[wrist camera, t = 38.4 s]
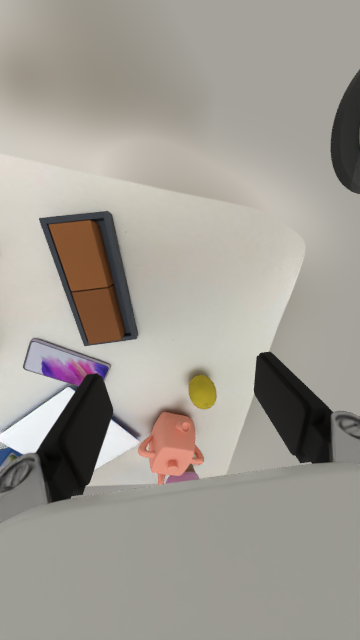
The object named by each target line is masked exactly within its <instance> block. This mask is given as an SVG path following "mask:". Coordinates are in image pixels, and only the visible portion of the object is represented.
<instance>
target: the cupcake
mask: <svg viewBox="0 0 360 640" xmlns="http://www.w3.org/2000/svg"><path fill="white" fill-rule="evenodd" d="M196 479H199V477H198V475H197V474H196V473H195V471H194V468H193V465H192V464H189V466H188V467H187V469H186V470H185V472H184V473H183V474H182V475H180V476H174V475H170V476H169V478H168V479H167V481H166V483H165V484H168V483H175V482H182V481H189V480H196Z"/></svg>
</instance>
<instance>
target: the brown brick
mask: <svg viewBox="0 0 360 640" xmlns="http://www.w3.org/2000/svg"><path fill="white" fill-rule="evenodd" d="M72 295H73V298H74V301H75V304H76V307H77V310H78V313H79V315H80V318H81V321H82V324H83V327H84V330H85V333H86V336H87V339H88V342H89V344H95V343H102V342H110V341H117V340H122V338H123V336H124V334H125V332H126V331H125V327H124V323H123V319H122V315H121V311H120V306H119V302H118V298H117V294H116V290H115V286H114V285H110V286H108V287H104V288H95V289H87V290H79V291H74V292H72Z"/></svg>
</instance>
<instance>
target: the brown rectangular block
mask: <svg viewBox="0 0 360 640" xmlns="http://www.w3.org/2000/svg"><path fill="white" fill-rule="evenodd" d="M49 228H50V230H51V233H52V236H53V239H54V242H55V245H56V248H57V251H58V254H59V257H60V260H61V263H62V265H63V268H64V271H65V274H66V277H67V280H68V283H69V286H70V289H71V291H79V290H87V289H95V288H104V287H108V286H110V285H112V284H114V282H113V278H112V274H111V270H110V266H109V261H108V257H107V253H106V249H105V245H104V241H103V237H102V233H101V229H100V225H99V224H97V223H95V222H93V221H91V220H86V221H77V222H67V223H58V224H49Z"/></svg>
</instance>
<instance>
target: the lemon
mask: <svg viewBox="0 0 360 640" xmlns="http://www.w3.org/2000/svg"><path fill="white" fill-rule="evenodd" d="M189 396H190V399H191V401H192V402H193V404H194V405H195V406H196V407H198V408H200V409H208V408H210V407H212V406H213V405H214V403H215V401H216V388H215V386H214V383H213V382H212V380H211V379H210V378H208V377H207V376H204V375H198V376H195V377H194V378H193V379H192V380H191V381H190V384H189Z"/></svg>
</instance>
